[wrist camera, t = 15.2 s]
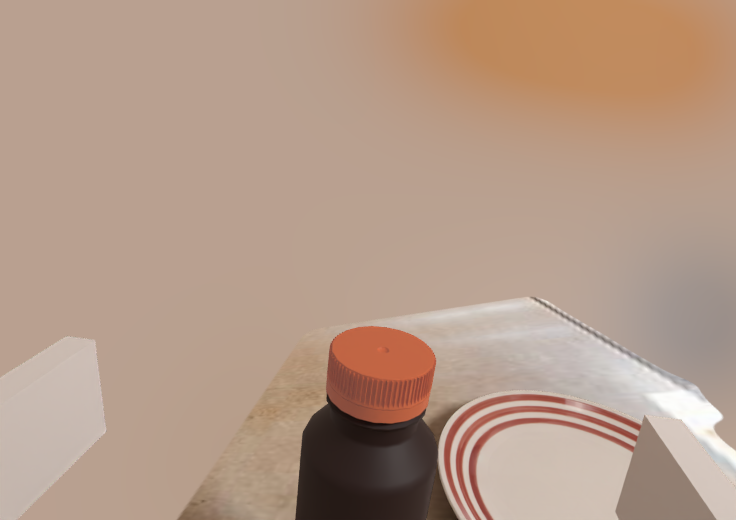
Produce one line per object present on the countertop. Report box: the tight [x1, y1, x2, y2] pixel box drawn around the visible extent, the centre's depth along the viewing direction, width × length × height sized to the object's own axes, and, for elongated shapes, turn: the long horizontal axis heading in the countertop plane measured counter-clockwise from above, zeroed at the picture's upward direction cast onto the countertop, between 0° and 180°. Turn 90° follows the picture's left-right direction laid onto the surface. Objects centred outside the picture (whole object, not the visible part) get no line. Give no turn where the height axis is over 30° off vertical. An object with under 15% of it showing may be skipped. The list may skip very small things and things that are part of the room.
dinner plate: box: [437, 390, 736, 520], centre depth 42 cm, size 28×27×3 cm
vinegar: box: [295, 326, 438, 520], centre depth 25 cm, size 7×7×20 cm
